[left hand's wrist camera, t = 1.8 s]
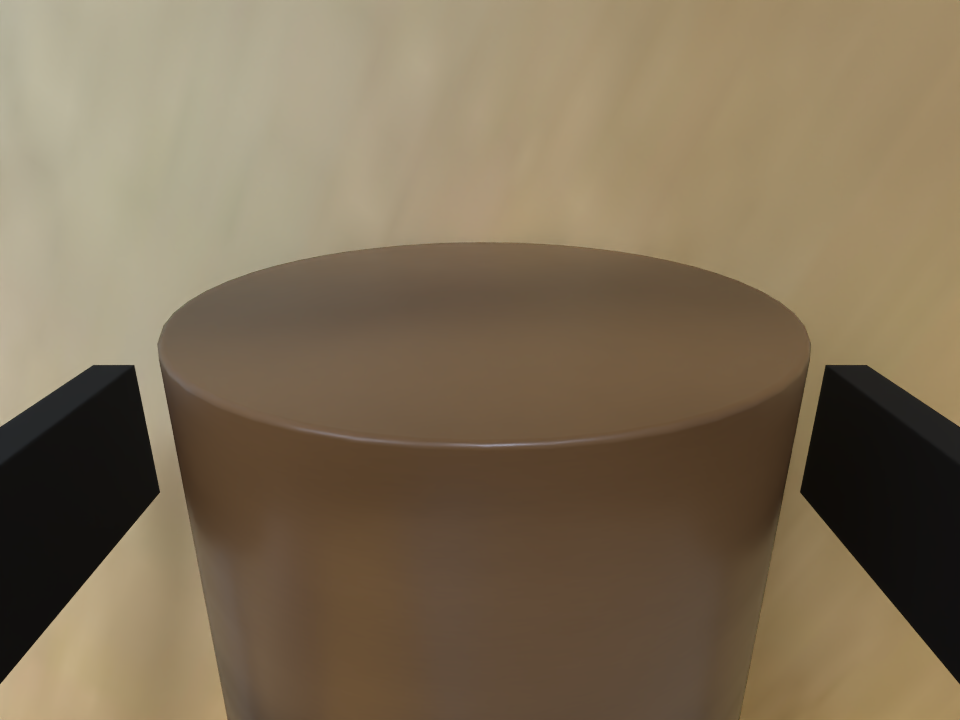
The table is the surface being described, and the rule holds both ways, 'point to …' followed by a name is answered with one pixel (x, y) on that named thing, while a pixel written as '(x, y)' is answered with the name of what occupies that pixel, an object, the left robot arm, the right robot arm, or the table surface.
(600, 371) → the rod
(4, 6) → the table surface
